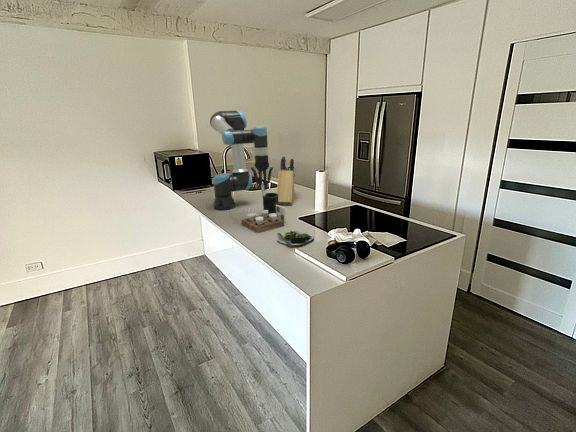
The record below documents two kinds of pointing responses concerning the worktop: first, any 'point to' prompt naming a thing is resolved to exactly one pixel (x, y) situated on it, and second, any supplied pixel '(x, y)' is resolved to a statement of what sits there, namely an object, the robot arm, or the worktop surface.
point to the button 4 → (273, 217)
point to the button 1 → (251, 217)
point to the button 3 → (264, 213)
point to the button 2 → (259, 220)
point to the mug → (270, 202)
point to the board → (266, 224)
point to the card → (280, 213)
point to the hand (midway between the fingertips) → (263, 195)
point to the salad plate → (295, 238)
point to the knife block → (286, 183)
